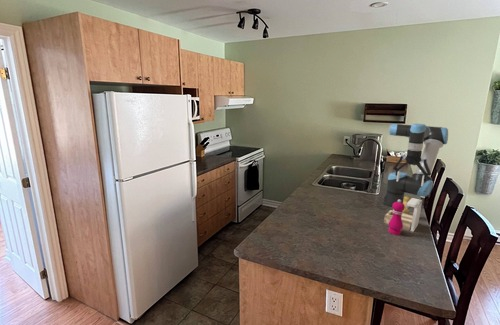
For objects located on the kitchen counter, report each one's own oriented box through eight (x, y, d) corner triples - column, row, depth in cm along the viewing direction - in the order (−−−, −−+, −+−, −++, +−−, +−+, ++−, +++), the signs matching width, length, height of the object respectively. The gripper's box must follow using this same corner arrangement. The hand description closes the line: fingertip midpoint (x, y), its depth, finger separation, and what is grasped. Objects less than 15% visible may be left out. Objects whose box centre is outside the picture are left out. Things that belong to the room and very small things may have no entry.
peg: (401, 215, 176) (404, 195, 173) (408, 217, 174) (411, 197, 170) (399, 217, 173) (403, 197, 170) (406, 219, 171) (410, 198, 168)
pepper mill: (394, 236, 149) (399, 202, 145) (384, 230, 156) (389, 197, 151) (404, 234, 151) (410, 201, 146) (394, 228, 158) (399, 196, 153)
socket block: (389, 216, 174) (390, 209, 173) (414, 223, 165) (415, 216, 163) (383, 222, 165) (384, 215, 164) (409, 230, 156) (410, 222, 155)
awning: (407, 222, 167) (411, 197, 163) (418, 224, 163) (422, 200, 160) (402, 228, 158) (406, 203, 155) (413, 231, 155) (417, 205, 151)
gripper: (390, 147, 167) (386, 180, 172) (438, 153, 151) (432, 189, 156) (393, 146, 173) (389, 177, 178) (440, 151, 156) (434, 186, 162)
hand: (409, 183), depth 167 cm, fingers open, 13 cm apart
